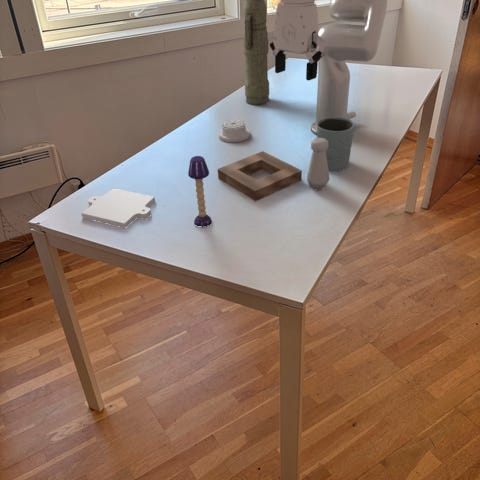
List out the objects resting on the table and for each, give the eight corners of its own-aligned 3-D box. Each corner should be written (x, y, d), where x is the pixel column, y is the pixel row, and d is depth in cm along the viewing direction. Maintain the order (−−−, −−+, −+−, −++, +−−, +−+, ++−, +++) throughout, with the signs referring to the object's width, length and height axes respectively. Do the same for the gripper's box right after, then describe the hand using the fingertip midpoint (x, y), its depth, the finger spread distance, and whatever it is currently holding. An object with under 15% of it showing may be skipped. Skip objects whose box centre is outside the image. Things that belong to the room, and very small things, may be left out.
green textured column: (274, 96, 181) (273, -6, 161) (263, 107, 173) (261, 0, 152) (252, 94, 184) (248, -7, 164) (240, 105, 176) (235, 0, 155)
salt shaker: (330, 182, 127) (334, 136, 119) (326, 192, 122) (329, 145, 115) (308, 179, 128) (310, 134, 121) (304, 190, 124) (305, 143, 116)
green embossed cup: (328, 175, 130) (331, 134, 122) (307, 161, 137) (309, 121, 130) (358, 166, 133) (362, 125, 126) (336, 153, 140) (339, 113, 133)
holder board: (263, 160, 139) (262, 151, 137) (301, 180, 128) (301, 170, 126) (218, 178, 131) (217, 169, 129) (255, 201, 121) (255, 191, 119)
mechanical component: (215, 142, 151) (246, 143, 149) (214, 129, 148) (245, 130, 147) (222, 129, 159) (252, 130, 157) (221, 117, 156) (251, 118, 154)
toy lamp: (194, 217, 116) (186, 154, 106) (213, 215, 116) (207, 152, 106) (194, 228, 112) (186, 164, 102) (214, 226, 112) (208, 162, 103)
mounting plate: (164, 205, 122) (162, 198, 121) (134, 232, 113) (133, 225, 112) (107, 192, 129) (105, 186, 128) (75, 217, 119) (73, 211, 118)
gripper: (257, -4, 109) (258, 72, 119) (318, 2, 99) (314, 86, 108) (279, -9, 113) (278, 66, 123) (340, -3, 103) (334, 78, 113)
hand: (295, 75), depth 116 cm, fingers open, 9 cm apart
